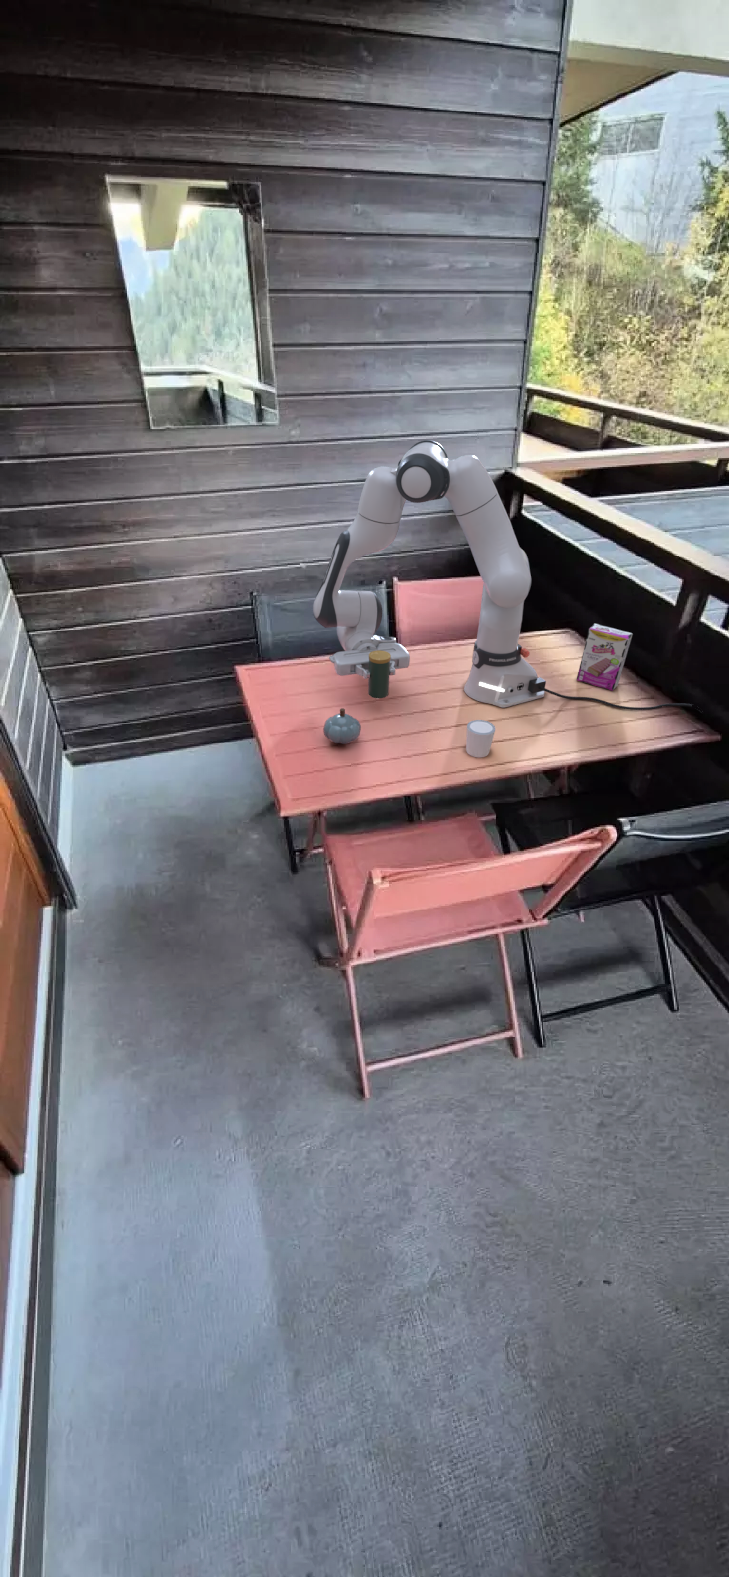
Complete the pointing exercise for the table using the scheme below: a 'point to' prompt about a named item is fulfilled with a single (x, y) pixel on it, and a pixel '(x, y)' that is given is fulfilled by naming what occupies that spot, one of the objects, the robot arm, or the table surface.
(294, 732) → the table surface
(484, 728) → the white cup
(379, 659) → the tea tin
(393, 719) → the table surface
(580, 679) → the candy bar box
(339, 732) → the pumpkin
